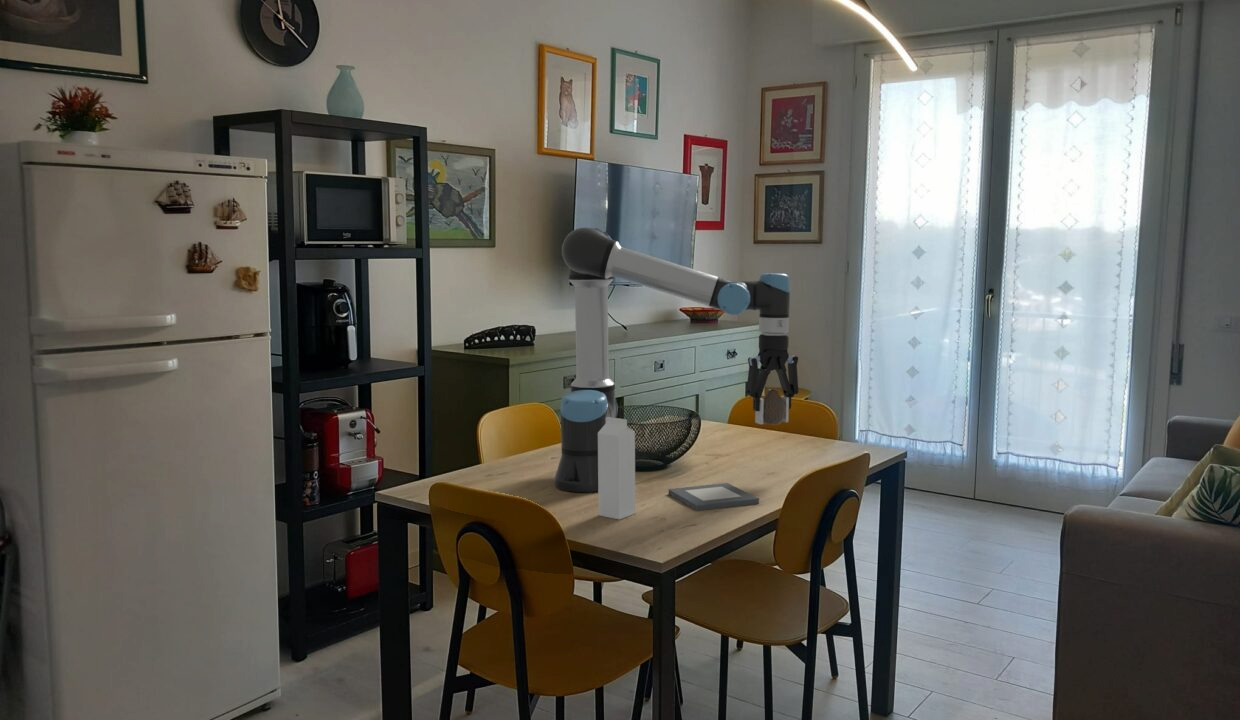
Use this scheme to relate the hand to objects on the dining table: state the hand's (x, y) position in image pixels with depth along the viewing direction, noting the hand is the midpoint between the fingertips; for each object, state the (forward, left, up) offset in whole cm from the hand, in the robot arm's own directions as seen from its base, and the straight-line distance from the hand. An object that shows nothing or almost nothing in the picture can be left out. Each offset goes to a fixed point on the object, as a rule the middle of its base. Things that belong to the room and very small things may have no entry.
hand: (771, 422), depth 243 cm
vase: (0, 0, -1) cm, 1 cm away
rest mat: (-23, -13, -15) cm, 30 cm away
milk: (-49, -17, -15) cm, 54 cm away
